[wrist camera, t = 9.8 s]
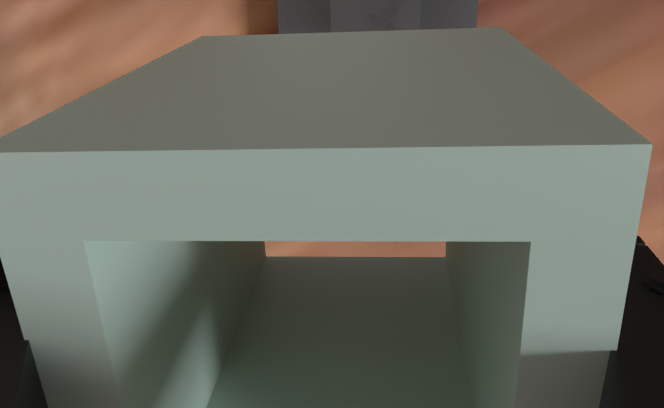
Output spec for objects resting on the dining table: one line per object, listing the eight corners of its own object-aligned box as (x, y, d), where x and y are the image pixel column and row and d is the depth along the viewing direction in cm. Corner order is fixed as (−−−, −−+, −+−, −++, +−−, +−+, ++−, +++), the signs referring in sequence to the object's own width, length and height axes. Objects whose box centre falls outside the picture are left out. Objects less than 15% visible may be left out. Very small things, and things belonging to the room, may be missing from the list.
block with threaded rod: (281, -10, 38) (217, 18, 24) (473, -13, 37) (531, 14, 23) (292, 195, 44) (245, 320, 29) (460, 196, 43) (499, 327, 28)
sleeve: (201, 36, 17) (-30, 152, 7) (500, 27, 16) (653, 143, 7) (232, 289, 20) (97, 588, 11) (483, 291, 19) (570, 617, 10)
